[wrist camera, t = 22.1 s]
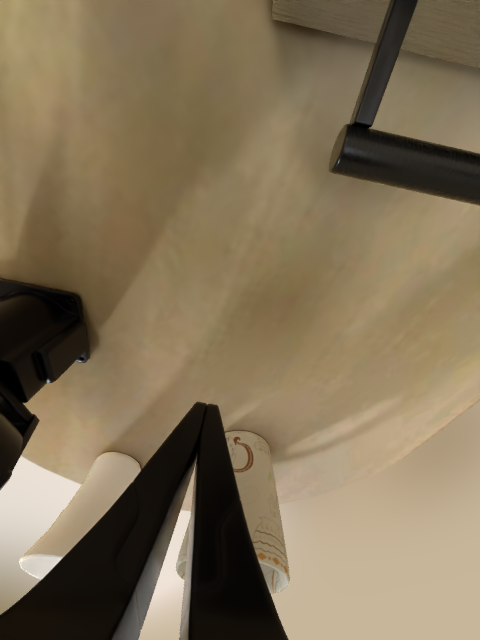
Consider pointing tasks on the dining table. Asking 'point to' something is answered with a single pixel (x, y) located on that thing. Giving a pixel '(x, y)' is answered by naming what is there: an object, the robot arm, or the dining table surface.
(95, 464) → the cup
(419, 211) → the dining table surface
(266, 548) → the mug
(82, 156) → the dining table surface
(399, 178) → the drawer
